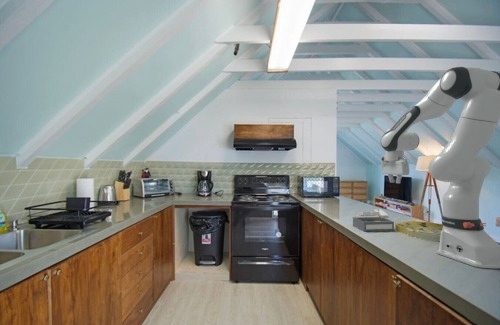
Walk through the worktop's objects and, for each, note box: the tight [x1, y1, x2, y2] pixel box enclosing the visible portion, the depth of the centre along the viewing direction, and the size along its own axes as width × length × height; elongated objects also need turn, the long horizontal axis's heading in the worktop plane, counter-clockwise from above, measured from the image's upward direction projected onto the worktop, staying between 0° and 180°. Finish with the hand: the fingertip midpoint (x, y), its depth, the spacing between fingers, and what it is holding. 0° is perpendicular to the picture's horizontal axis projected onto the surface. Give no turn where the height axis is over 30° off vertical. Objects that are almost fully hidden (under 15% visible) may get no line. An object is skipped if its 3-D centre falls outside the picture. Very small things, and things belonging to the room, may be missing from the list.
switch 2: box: [366, 211, 380, 217], centre depth 145 cm, size 8×4×2 cm, turn 2°
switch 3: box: [373, 208, 389, 219], centre depth 145 cm, size 8×4×2 cm, turn 2°
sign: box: [394, 220, 443, 242], centre depth 133 cm, size 28×3×30 cm
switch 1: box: [356, 211, 371, 217], centre depth 145 cm, size 8×4×2 cm, turn 2°
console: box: [352, 215, 395, 233], centre depth 145 cm, size 14×16×5 cm
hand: (395, 183), depth 142 cm, fingers open, 4 cm apart
